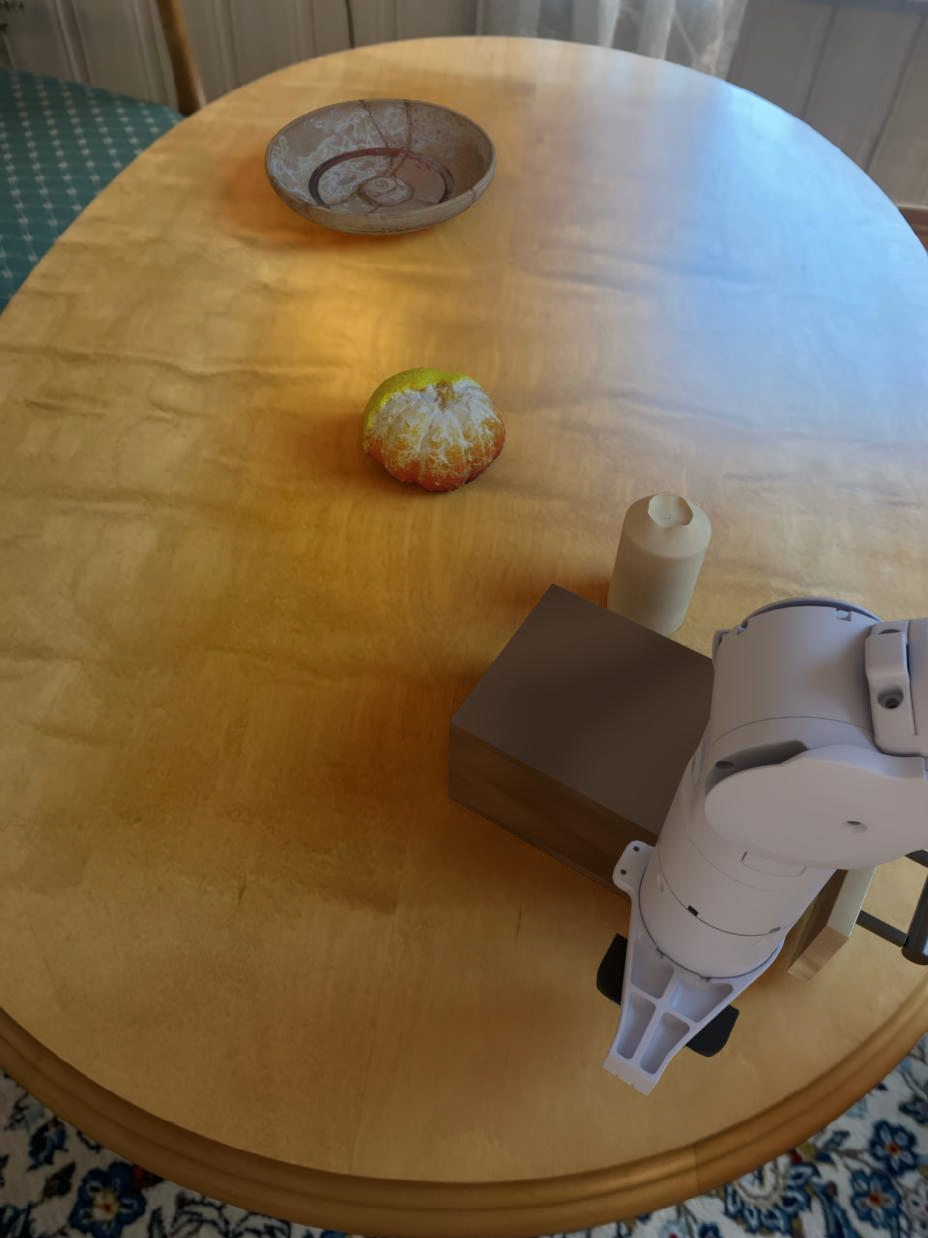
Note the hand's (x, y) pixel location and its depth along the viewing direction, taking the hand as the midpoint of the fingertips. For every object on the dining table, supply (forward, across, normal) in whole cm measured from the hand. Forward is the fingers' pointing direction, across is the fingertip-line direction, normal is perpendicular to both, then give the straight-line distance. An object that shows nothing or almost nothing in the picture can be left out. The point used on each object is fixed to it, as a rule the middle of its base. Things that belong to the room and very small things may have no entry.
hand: (669, 979), depth 46 cm
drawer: (+5, -11, +2) cm, 12 cm away
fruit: (+6, -30, -33) cm, 45 cm away
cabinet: (+6, -11, -9) cm, 16 cm away
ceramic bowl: (+6, -60, -59) cm, 84 cm away
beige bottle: (+6, -25, -12) cm, 29 cm away
